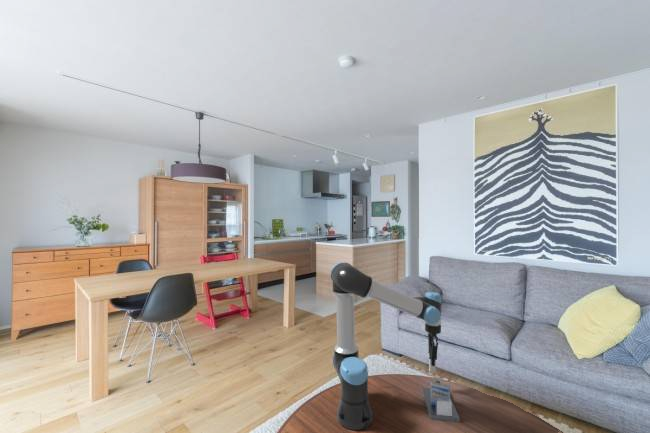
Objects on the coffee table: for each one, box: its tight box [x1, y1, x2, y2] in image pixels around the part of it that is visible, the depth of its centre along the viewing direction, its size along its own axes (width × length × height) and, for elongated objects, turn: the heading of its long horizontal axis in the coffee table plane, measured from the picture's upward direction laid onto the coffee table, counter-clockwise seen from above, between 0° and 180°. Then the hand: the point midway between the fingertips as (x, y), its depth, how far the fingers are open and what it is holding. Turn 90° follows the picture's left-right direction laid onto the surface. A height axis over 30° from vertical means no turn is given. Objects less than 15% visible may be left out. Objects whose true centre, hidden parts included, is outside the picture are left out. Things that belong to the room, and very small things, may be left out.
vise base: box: [421, 387, 461, 423], centre depth 133 cm, size 12×21×8 cm, turn 170°
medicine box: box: [430, 381, 451, 406], centre depth 131 cm, size 8×4×9 cm, turn 65°
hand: (432, 371), depth 145 cm, fingers closed
